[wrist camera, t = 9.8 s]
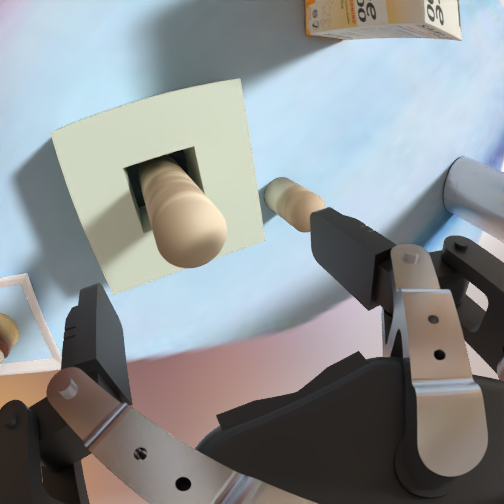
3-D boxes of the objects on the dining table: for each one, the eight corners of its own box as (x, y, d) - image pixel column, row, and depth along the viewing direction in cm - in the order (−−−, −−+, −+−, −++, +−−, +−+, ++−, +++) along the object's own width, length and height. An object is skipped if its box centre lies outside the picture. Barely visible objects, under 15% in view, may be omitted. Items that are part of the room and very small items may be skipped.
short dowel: (293, 173, 28) (325, 190, 24) (296, 204, 30) (326, 225, 26) (262, 182, 27) (289, 200, 23) (266, 214, 29) (293, 237, 25)
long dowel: (173, 148, 23) (219, 191, 13) (182, 185, 24) (232, 254, 15) (133, 160, 22) (146, 214, 12) (144, 198, 24) (167, 277, 14)
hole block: (217, 81, 21) (240, 78, 17) (241, 216, 28) (265, 240, 24) (64, 125, 18) (50, 133, 14) (112, 261, 25) (113, 294, 21)
